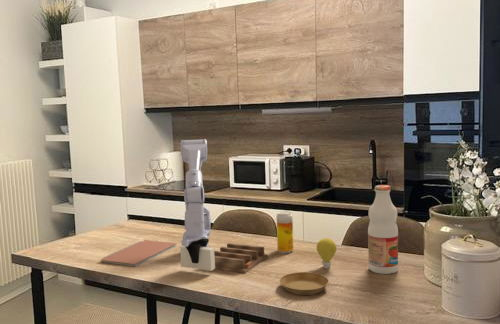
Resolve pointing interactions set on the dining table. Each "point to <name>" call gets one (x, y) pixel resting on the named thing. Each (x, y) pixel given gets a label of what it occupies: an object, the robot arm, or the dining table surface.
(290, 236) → the beer can
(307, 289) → the plant saucer
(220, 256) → the rack
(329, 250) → the light bulb
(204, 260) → the block
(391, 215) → the fruit juice
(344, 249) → the dining table surface
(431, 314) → the dining table surface
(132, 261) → the notebook
